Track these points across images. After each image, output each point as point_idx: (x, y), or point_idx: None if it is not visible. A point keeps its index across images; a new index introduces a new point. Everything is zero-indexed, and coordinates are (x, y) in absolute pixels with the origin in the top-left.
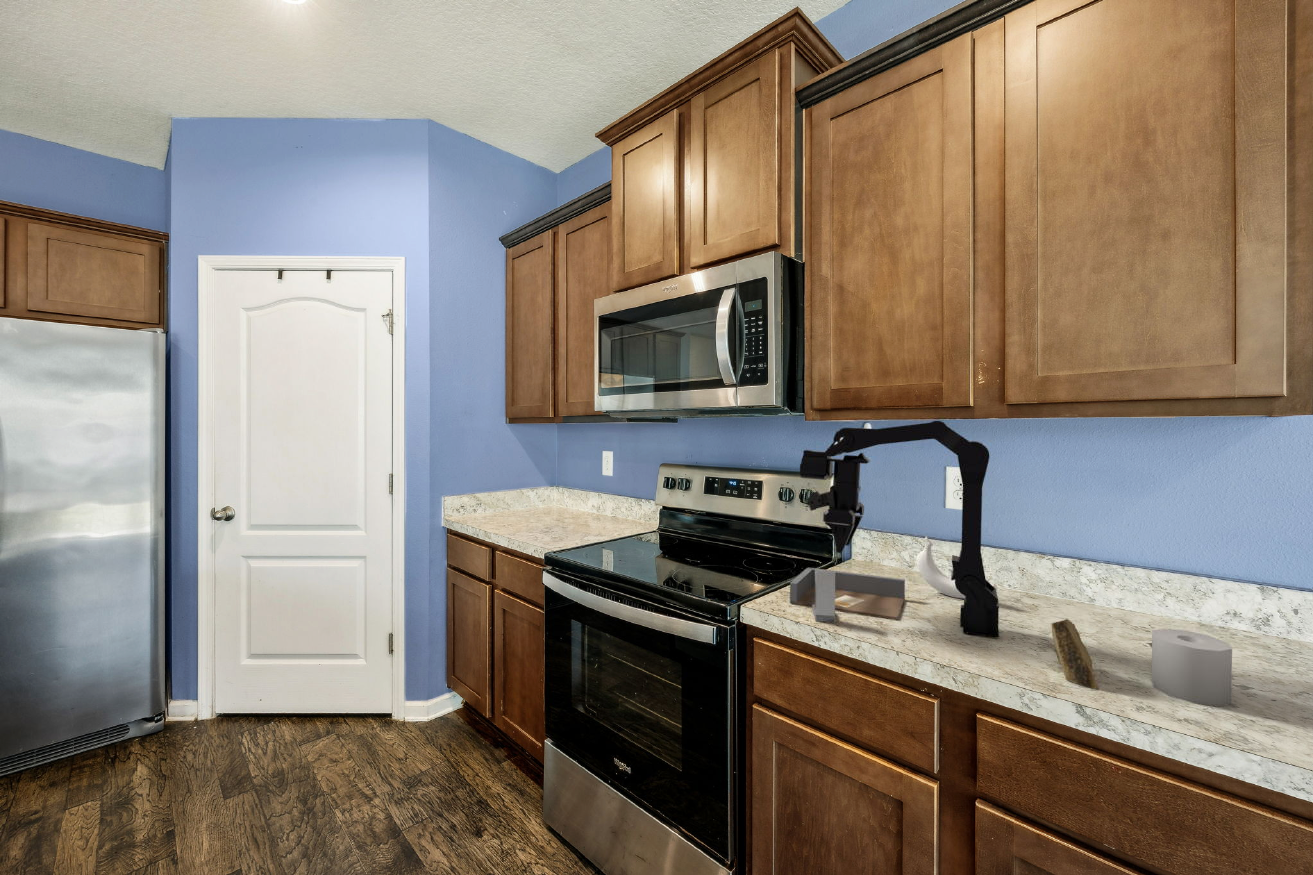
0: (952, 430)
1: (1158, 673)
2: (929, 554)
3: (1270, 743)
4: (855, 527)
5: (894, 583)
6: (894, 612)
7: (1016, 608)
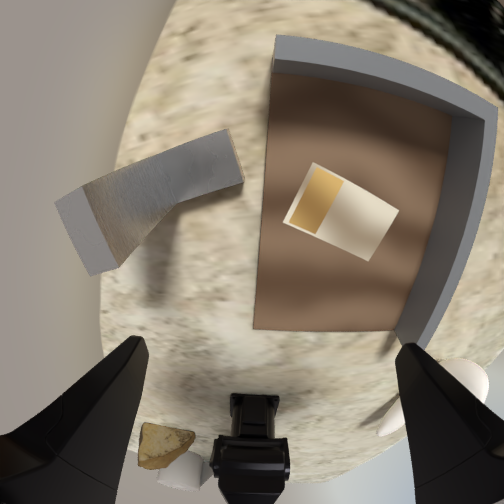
0: None
1: None
2: None
3: (131, 448)
4: (417, 473)
5: (413, 336)
6: (288, 323)
7: (372, 421)
